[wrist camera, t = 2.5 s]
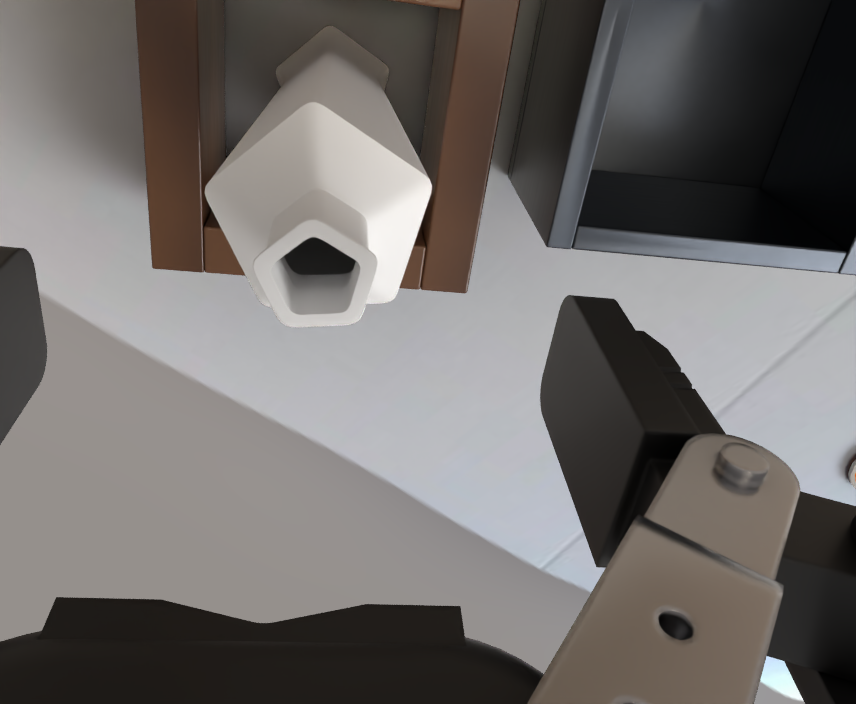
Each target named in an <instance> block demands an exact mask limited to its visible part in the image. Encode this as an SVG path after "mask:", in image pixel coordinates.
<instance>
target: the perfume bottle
mask: <svg viewBox="0 0 856 704" xmlns="http://www.w3.org/2000/svg"><path fill="white" fill-rule="evenodd" d="M276 76H277V79H278V82H279V84H280V86H281V88H280V89H279V90H278V92H277V93H276V94H275V95H274V97H273V98H272V99H271V101H270V102H269V103H268V105H267V106H266V107H265V109H264V110H263V111H262V113H261V114H260V115H259V117H258V118H257V119H256V120H255V122H254V123H253V124H252V126H251V127H250V128H249V130H248V131H247V132H246V134H245V135H244V136H243V138H242V139H241V140H240V142H239V143H238V144H237V146H236V147H235V148H234V149H233V151H232V152H231V153H230V155H229V156H228V157H227V159H226V160H225V161H224V163H223V164H222V165H221V167H220V168H219V169H218V171H217V172H216V173H215V175H214V176H213V177H212V178H211V180H210V181H209V182H208V184H207V185H206V187H205V196H206V199H207V201H208V203H209V205H210V207H211V209H212V211H213V213H214V215H215V217H216V219H217V221H218V223H219V225H220V227H221V229H222V231H223V232H224V234H225V236H226V238H227V240H228V242H229V244H230V246H231V248H232V250H233V252H234V254H235V256H236V258H237V260H238V262H239V264H240V265H241V267H242V269H243V271H244V273H245V275H246V277H247V279H248V281H249V283H250V285H251V287H252V289H253V291H254V293H255V295H256V296H257V298H258V300H259V301H260V302H261V304H263V305H265V306H267V307H272V309H273V311H274V313H275V315H276V317H277V318H278V319H279V321H280V322H281V323H282V324H284V325H286V326H288V327H319V326H343V325H350V324H354V323H356V322H357V321H358V320H360V318H361V316H362V315H363V313H364V310H365V306H366V304H379V303H387V302H390V301H392V300H393V299H394V298H395V297H396V295H397V293H398V290H399V287H400V284H401V281H402V278H403V275H404V272H405V269H406V266H407V263H408V260H409V257H410V254H411V252H412V249H413V246H414V243H415V240H416V237H417V234H418V231H419V228H420V225H421V222H422V219H423V216H424V213H425V210H426V207H427V204H428V201H429V198H430V195H431V190H432V184H431V181H430V179H429V177H428V175H427V173H426V171H425V169H424V167H423V166H422V164H421V162H420V160H419V158H418V156H417V154H416V152H415V150H414V148H413V146H412V144H411V142H410V140H409V139H408V137H407V135H406V133H405V131H404V129H403V127H402V125H401V123H400V121H399V119H398V117H397V115H396V113H395V112H394V110H393V108H392V106H391V104H390V102H389V100H388V98H387V96H386V94H385V92H384V91H385V87H386V83H387V80H388V76H389V69H388V67H387V65H386V64H385V63H383V62H382V61H381V60H379V59H378V58H376V57H375V56H374V55H372V54H371V53H370V52H368V51H367V50H366V49H364V48H363V47H361V46H360V45H359V44H357V43H356V42H355V41H353V40H352V39H351V38H349V37H348V36H347V35H345V34H344V33H342V32H341V31H340V30H338V29H337V28H335V27H333V26H327V27H325V28H323V29H322V30H321V31H320V32H318V33H317V34H316V35H315V36H314V37H312V38H311V39H310V40H309V41H308V42H306V43H305V44H304V45H303V46H302V47H300V48H299V49H298V50H297V51H296V52H295V53H293V54H292V55H291V56H290V57H289V58H287V59H286V60H285V61H284V62H283V63H281V64H280V65H279V66H278V67H277V69H276Z"/></svg>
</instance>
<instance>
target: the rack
mask: <svg viewBox="0 0 856 704" xmlns="http://www.w3.org/2000/svg"><path fill="white" fill-rule="evenodd" d="M389 1H396V2H403V3H410V4H418V5H425V6H432V7H439V8H440V10H439V18H438V25H437V33H436V41H435V48H434V56H433V64H432V71H431V79H430V87H429V94H428V102H427V109H426V117H425V125H424V132H423V140H422V148H421V155H420V162H421V164H422V166H423V167H424V169H425V171H426V173H427V175H428V177H429V179H430V181H431V184H432V190H431V195H430V198H429V201H428V204H427V207H426V210H425V213H424V216H423V219H422V222H421V225H420V228H419V231H418V234H417V237H416V240H415V243H414V246H413V249H412V252H411V254H410V257H409V260H408V263H407V266H406V269H405V272H404V275H403V278H402V281H401V284H400V287H399V288H406V289H420V287H421V289H422V290H431V291H443V292H456V293H466V292H467V291H468V285H469V280H470V274H471V269H472V263H473V258H474V252H475V247H476V241H477V236H478V230H479V225H480V219H481V214H482V208H483V203H484V197H485V192H486V186H487V181H488V175H489V170H490V164H491V159H492V153H493V148H494V142H495V137H496V131H497V126H498V120H499V115H500V109H501V104H502V98H503V93H504V87H505V82H506V76H507V71H508V65H509V60H510V54H511V49H512V43H513V38H514V32H515V27H516V21H517V16H518V10H519V5H520V0H389ZM135 13H136V28H137V43H138V58H139V73H140V89H141V104H142V119H143V134H144V149H145V165H146V180H147V195H148V210H149V225H150V240H151V256H152V267H153V268H154V269H166V270H179V271H191V272H204V270H205V272H208V273H220V274H233V275H245V273H244V271H243V269H242V267H241V265H240V264H239V262H238V260H237V258H236V256H235V254H234V252H233V250H232V248H231V246H230V244H229V242H228V240H227V238H226V236H225V234H224V232H223V231H222V229H221V227H220V225H219V223H218V221H217V219H216V217H215V215H214V213H213V211H212V209H211V207H210V205H209V203H208V201H207V199H206V196H205V187H206V185H207V184H208V182H209V181H210V180H211V178H212V177H213V176H214V175H215V173H216V172H217V171H218V169H219V168H220V167H221V165H222V164H223V163H224V161H225V160H226V144H225V23H224V0H135ZM245 276H246V275H245Z"/></svg>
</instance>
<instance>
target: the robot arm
mask: <svg viewBox="0 0 856 704" xmlns="http://www.w3.org/2000/svg"><path fill="white" fill-rule="evenodd" d="M46 359H47V343H46V336H45V330H44V323H43V317H42V311H41V304H40V298H39V292H38V285H37V279H36V273H35V267H34V263H33V259H32V257H31V255H30V253H29V252H28V251H27V250H26V249H24V248H14V247H2V246H0V444H1V443H2V441H3V440H4V438H5V436H6V435H7V433H8V432H9V430H10V429H11V427H12V425H13V424H14V423H15V421H16V420H17V418H18V417H19V415H20V413H21V412H22V410H23V409H24V407H25V406H26V404H27V403H28V401H29V400H30V398H31V397H32V395H33V394H34V392H35V390H36V389H37V387H38V386H39V384H40V382H41V380H42V378H43V374H44V371H45V366H46ZM540 402H541V411H542V415H543V418H544V421H545V424H546V427H547V430H548V432H549V435H550V438H551V441H552V444H553V446H554V449H555V452H556V455H557V458H558V460H559V463H560V466H561V469H562V472H563V474H564V477H565V480H566V483H567V486H568V488H569V491H570V494H571V497H572V500H573V502H574V505H575V508H576V511H577V514H578V516H579V519H580V522H581V525H582V528H583V530H584V533H585V536H586V539H587V542H588V544H589V547H590V550H591V553H592V556H593V558H594V561H595V564H596V567H606V569H605V570H604V572H603V574H602V576H601V577H600V579H599V581H598V582H597V584H596V586H595V588H594V589H593V591H592V593H591V594H590V596H589V598H588V600H587V602H586V603H585V605H584V606H583V608H582V610H581V612H580V613H579V615H578V617H577V619H576V620H575V622H574V624H573V625H572V627H571V629H570V631H569V633H568V634H567V636H566V638H565V639H564V641H563V643H562V644H561V646H560V648H559V650H558V651H557V653H556V655H555V657H554V658H553V660H552V661H551V663H550V665H549V667H548V668H547V670H546V672H545V673H544V674H543V673H541V672H540V671H538V670H536V669H535V668H534V667H532V666H530V665H529V664H527V663H526V662H524V661H522V660H521V659H519V658H517V657H515V656H513V655H511V654H509V653H507V652H505V651H503V650H501V649H499V648H496V647H493V646H491V645H488V644H485V643H482V642H480V641H477V640H473V639H469V638H466V637H465V636H464V629H463V622H462V615H461V608H460V606H424V605H421V606H420V605H379V604H378V605H377V604H365V605H360V606H355V607H350V608H346V609H340V610H335V611H330V612H325V613H320V614H315V615H309V616H304V617H299V618H295V619H289V620H284V621H279V622H274V623H254V622H250V621H246V620H242V619H238V618H233V617H229V616H226V615H222V614H217V613H213V612H209V611H205V610H201V609H197V608H193V607H189V606H185V605H181V604H177V603H173V602H169V601H164V600H154V599H151V600H149V599H109V598H106V599H105V598H63V597H57V598H56V599H55V602H54V605H53V606H52V609H51V611H50V613H49V616H48V618H47V620H46V623H45V625H44V627H43V630H42V631H40V632H35V633H31V634H26V635H22V636H19V637H15V638H12V639H8V640H5V641H1V642H0V704H754V701H755V697H756V693H757V690H758V686H759V682H760V678H761V675H762V671H763V667H764V663H765V660H766V656H769V657H773V658H776V659H779V660H783V661H785V663H786V666H787V668H788V670H789V672H790V674H791V676H792V678H793V680H794V682H795V684H796V686H797V688H798V690H799V692H800V694H801V696H802V698H803V700H804V702H805V704H856V506H852V505H849V504H845V503H841V502H837V501H833V500H830V499H826V498H822V497H818V496H815V495H811V494H807V493H804V492H801V491H800V485H799V482H798V479H797V477H796V475H795V474H794V473H793V471H792V470H791V469H790V468H789V467H788V465H787V464H786V463H785V462H783V461H782V460H781V459H780V458H779V457H777V456H776V455H775V454H773V453H772V452H770V451H769V450H767V449H765V448H763V447H762V446H759V445H757V444H755V443H753V442H751V441H748V440H745V439H743V438H739V437H736V436H732V435H726V434H725V432H724V431H723V429H722V428H721V426H720V425H719V423H718V422H717V420H716V419H715V418H714V416H713V415H712V413H711V412H710V410H709V409H708V407H707V406H706V404H705V403H704V402H703V400H702V399H701V397H700V396H699V394H698V393H697V391H696V390H695V389H692V384H691V383H690V381H689V380H688V378H687V377H686V375H685V374H684V373H682V372H681V368H680V366H679V365H678V364H677V362H676V361H675V359H674V358H673V356H672V355H671V353H670V352H669V350H668V349H667V348H665V347H664V346H663V345H661V344H660V343H659V342H657V341H656V340H655V339H653V338H652V337H651V336H649V335H648V334H647V333H645V332H644V331H635V329H634V327H633V326H632V324H631V323H630V321H629V320H628V318H627V316H626V315H625V313H624V312H623V310H622V309H621V307H620V306H619V304H618V302H617V301H616V300H614V299H608V298H596V297H584V296H572V295H568V296H567V297H566V298H565V299H564V300H563V302H562V305H561V307H560V311H559V314H558V318H557V322H556V326H555V330H554V334H553V338H552V342H551V346H550V349H549V353H548V357H547V361H546V365H545V369H544V373H543V377H542V382H541V393H540Z"/></svg>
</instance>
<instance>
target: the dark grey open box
mask: <svg viewBox="0 0 856 704" xmlns="http://www.w3.org/2000/svg"><path fill="white" fill-rule="evenodd" d="M508 178H509V179H510V181H511V183H512V185H513V187H514V189H515V190H516V192H517V194H518V196H519V198H520V199H521V201H522V203H523V205H524V207H525V209H526V210H527V212H528V214H529V216H530V218H531V219H532V221H533V223H534V225H535V227H536V228H537V230H538V232H539V234H540V236H541V237H542V239H543V241H544V243H545V245H546V246H547V247H552V248H563V249H571V248H572V249H578V250H589V251H600V252H611V253H622V254H633V255H644V256H654V257H665V258H676V259H687V260H698V261H709V262H720V263H731V264H742V265H753V266H764V267H774V268H785V269H796V270H807V271H818V272H829V273H839V274H848V275H856V0H542V4H541V9H540V14H539V19H538V24H537V29H536V34H535V39H534V45H533V50H532V55H531V60H530V65H529V70H528V75H527V80H526V85H525V90H524V96H523V101H522V106H521V111H520V116H519V121H518V126H517V131H516V136H515V141H514V147H513V152H512V157H511V162H510V167H509V172H508Z"/></svg>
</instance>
